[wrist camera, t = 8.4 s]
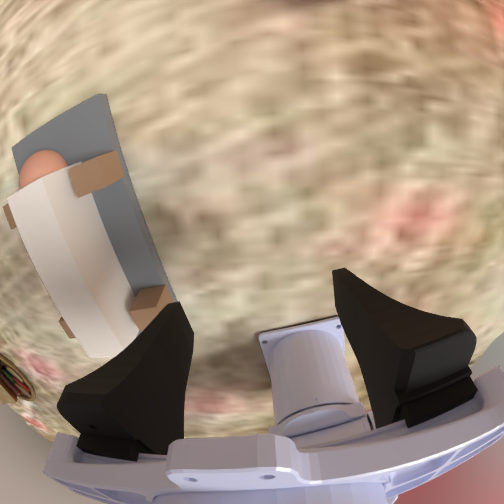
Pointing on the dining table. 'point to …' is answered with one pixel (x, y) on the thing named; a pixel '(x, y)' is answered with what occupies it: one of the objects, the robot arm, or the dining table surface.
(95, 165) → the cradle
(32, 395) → the toy sandwich meal
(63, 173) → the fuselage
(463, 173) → the dining table surface
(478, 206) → the dining table surface
